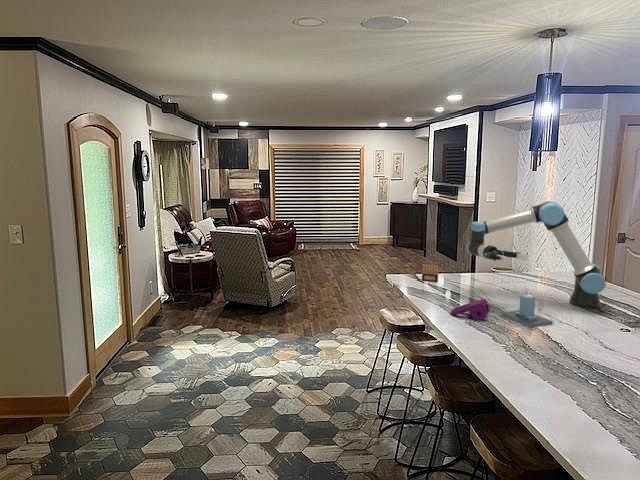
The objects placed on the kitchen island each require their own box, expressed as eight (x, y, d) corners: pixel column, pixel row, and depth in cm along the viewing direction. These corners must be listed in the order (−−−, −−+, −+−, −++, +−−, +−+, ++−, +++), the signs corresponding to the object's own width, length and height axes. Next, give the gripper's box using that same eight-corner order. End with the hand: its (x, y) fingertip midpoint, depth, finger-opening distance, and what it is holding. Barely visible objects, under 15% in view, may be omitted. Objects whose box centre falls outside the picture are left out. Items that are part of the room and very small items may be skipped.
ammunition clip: (438, 281, 320) (438, 264, 318) (437, 282, 318) (438, 264, 316) (422, 280, 324) (422, 263, 322) (421, 280, 322) (422, 263, 320)
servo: (515, 316, 245) (516, 292, 243) (522, 315, 246) (524, 292, 245) (529, 322, 236) (531, 297, 234) (537, 321, 237) (539, 297, 235)
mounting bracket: (455, 328, 245) (489, 318, 237) (449, 312, 246) (482, 302, 237) (459, 322, 253) (491, 313, 245) (452, 308, 254) (485, 298, 245)
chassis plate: (501, 315, 248) (501, 312, 247) (522, 312, 253) (522, 309, 252) (530, 327, 229) (530, 323, 229) (552, 324, 234) (552, 320, 234)
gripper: (505, 257, 270) (534, 264, 251) (469, 259, 261) (496, 267, 242) (506, 244, 269) (535, 250, 249) (470, 246, 260) (497, 252, 241)
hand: (516, 258), depth 246 cm, fingers open, 13 cm apart
